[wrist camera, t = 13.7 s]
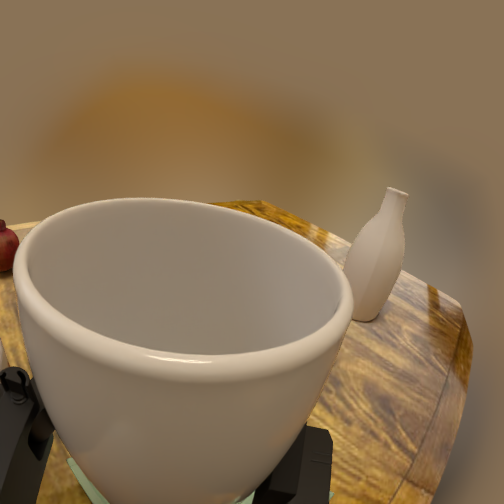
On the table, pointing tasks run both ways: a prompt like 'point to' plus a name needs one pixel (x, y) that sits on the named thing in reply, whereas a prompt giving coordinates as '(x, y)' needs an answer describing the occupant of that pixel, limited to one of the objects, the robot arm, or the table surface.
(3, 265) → the fruit
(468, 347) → the table surface
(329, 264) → the white cup
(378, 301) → the bottle
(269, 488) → the robot arm
